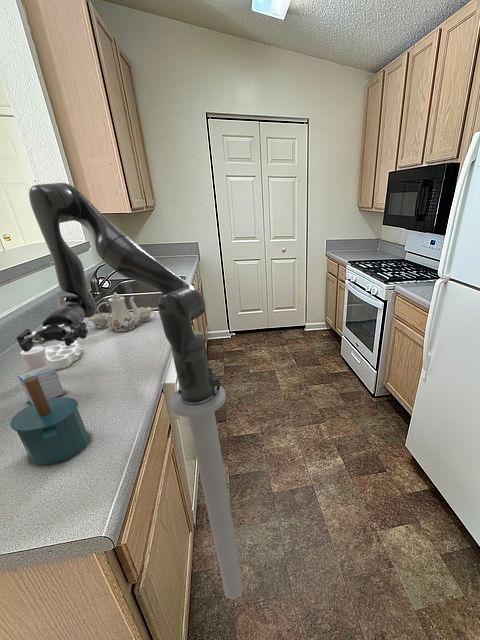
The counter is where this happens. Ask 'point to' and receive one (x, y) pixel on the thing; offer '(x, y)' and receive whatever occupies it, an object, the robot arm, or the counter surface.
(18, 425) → the lid
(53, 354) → the white holed tray
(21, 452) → the counter surface
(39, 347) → the smoothie
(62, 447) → the cooking pot
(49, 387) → the medicine box
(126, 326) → the chinaware
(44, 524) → the counter surface
